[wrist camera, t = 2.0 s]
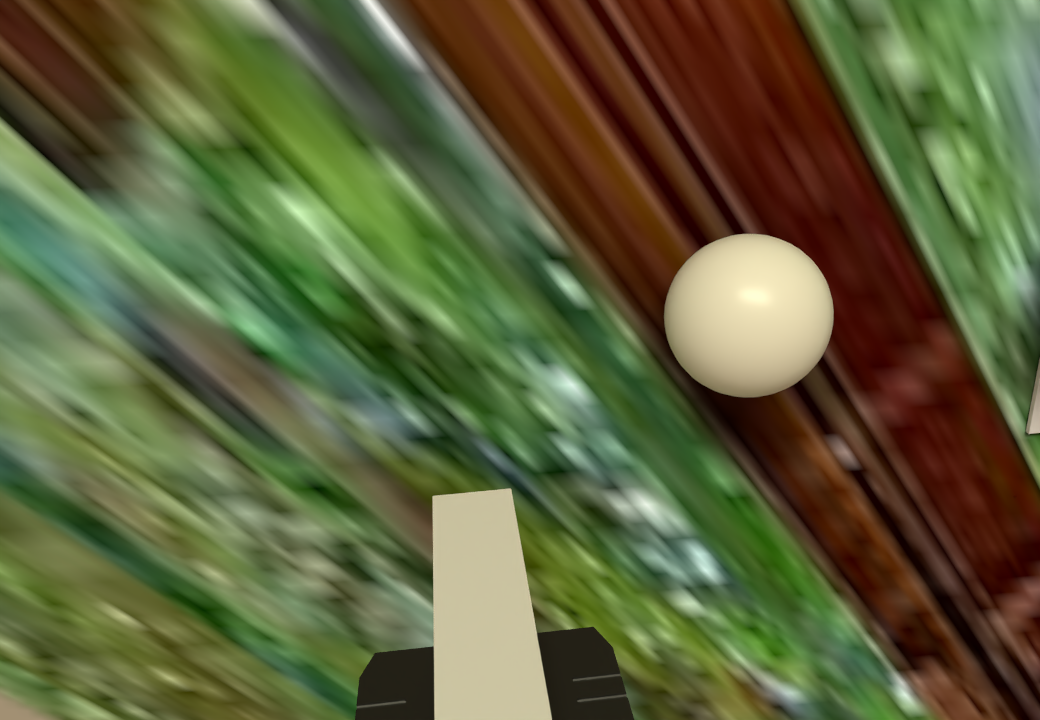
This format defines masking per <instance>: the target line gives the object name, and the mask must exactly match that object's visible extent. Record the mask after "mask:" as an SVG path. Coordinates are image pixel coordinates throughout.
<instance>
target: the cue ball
mask: <svg viewBox="0 0 1040 720" xmlns="http://www.w3.org/2000/svg"><path fill="white" fill-rule="evenodd" d="M833 312H834V310H833V301H832V297H831V294H830V290H829V287H828V284H827V282H826V280H825V278H824V276H823V275H822V273H821V271H820V270H819V268H818V267H817V266H816V264H815V263H814V262H813V261H812V260H811V259H810V258H809V257H808V256H807V255H806V254H805V253H803V252H802V251H801V250H800V249H798V248H797V247H795V246H793V245H792V244H790V243H788V242H785V241H783V240H781V239H778V238H775V237H771V236H768V235H760V234H739V235H733V236H729V237H725V238H722V239H719V240H717V241H714V242H712V243H710V244H708V245H706V246H705V247H703V248H701V249H700V250H699V251H697V252H696V253H695V254H693V255H692V256H691V257H690V258H689V259H688V260H687V261H686V262H685V263H684V265H683V266H682V267H681V268H680V270H679V271H678V273H677V274H676V276H675V278H674V280H673V282H672V284H671V286H670V289H669V291H668V294H667V298H666V303H665V311H664V322H665V330H666V335H667V339H668V342H669V345H670V348H671V350H672V351H673V353H674V355H675V357H676V359H677V361H678V362H679V363H680V365H681V366H682V367H683V368H684V369H685V370H686V371H687V372H688V373H689V374H690V376H691V377H692V378H694V379H695V380H696V381H698V382H699V383H701V384H702V385H704V386H706V387H708V388H710V389H711V390H714V391H716V392H719V393H722V394H726V395H730V396H735V397H760V396H766V395H770V394H774V393H777V392H779V391H782V390H784V389H786V388H788V387H790V386H792V385H794V384H795V383H797V382H798V381H799V380H801V379H802V378H803V377H804V376H806V375H807V374H808V373H809V372H810V371H811V370H812V369H813V368H814V366H815V365H816V364H817V362H818V361H819V360H820V358H821V357H822V355H823V353H824V351H825V350H826V347H827V345H828V343H829V340H830V336H831V333H832V326H833Z"/></svg>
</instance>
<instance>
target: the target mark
mask: <svg viewBox="0 0 1040 720" xmlns="http://www.w3.org/2000/svg"><path fill="white" fill-rule="evenodd" d="M1026 432H1027V433H1028V434H1033V433H1040V359H1039V364H1038V370H1037V375H1036V380H1035V385H1034V391H1033V396H1032V401H1031V406H1030V412H1029V417H1028V422H1027V427H1026Z"/></svg>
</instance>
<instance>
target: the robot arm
mask: <svg viewBox="0 0 1040 720" xmlns="http://www.w3.org/2000/svg"><path fill="white" fill-rule="evenodd" d="M433 592H434V647H425V648H416V649H407V650H398V651H389V652H380V653H375V654H374V656H373V657H372V659H371V660H370V662H369V664H368V665H367V667H366V668H365V670H364V672H363V673H362V675H361V676H360V678H359V688H358V697H357V710H356V716H355V720H634V718H633V714H632V711H631V708H630V704H629V701H628V698H627V697H626V691H625V687H624V684H623V681H622V677H621V676H620V671H619V667H618V664H617V660H616V657H615V654H614V650H613V647H612V646H611V645H610V644H609V643H608V642H607V641H606V640H605V639H604V638H603V636H602V635H601V634H600V633H599V632H598V631H597V630H596V629H595V628H594V627H588V628H579V629H570V630H561V631H552V632H542V633H537V632H536V626H535V621H534V615H533V610H532V604H531V598H530V593H529V587H528V582H527V576H526V570H525V565H524V559H523V553H522V548H521V542H520V537H519V531H518V525H517V520H516V514H515V509H514V503H513V497H512V492H511V489H501V490H491V491H481V492H470V493H460V494H450V495H439V496H433Z"/></svg>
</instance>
